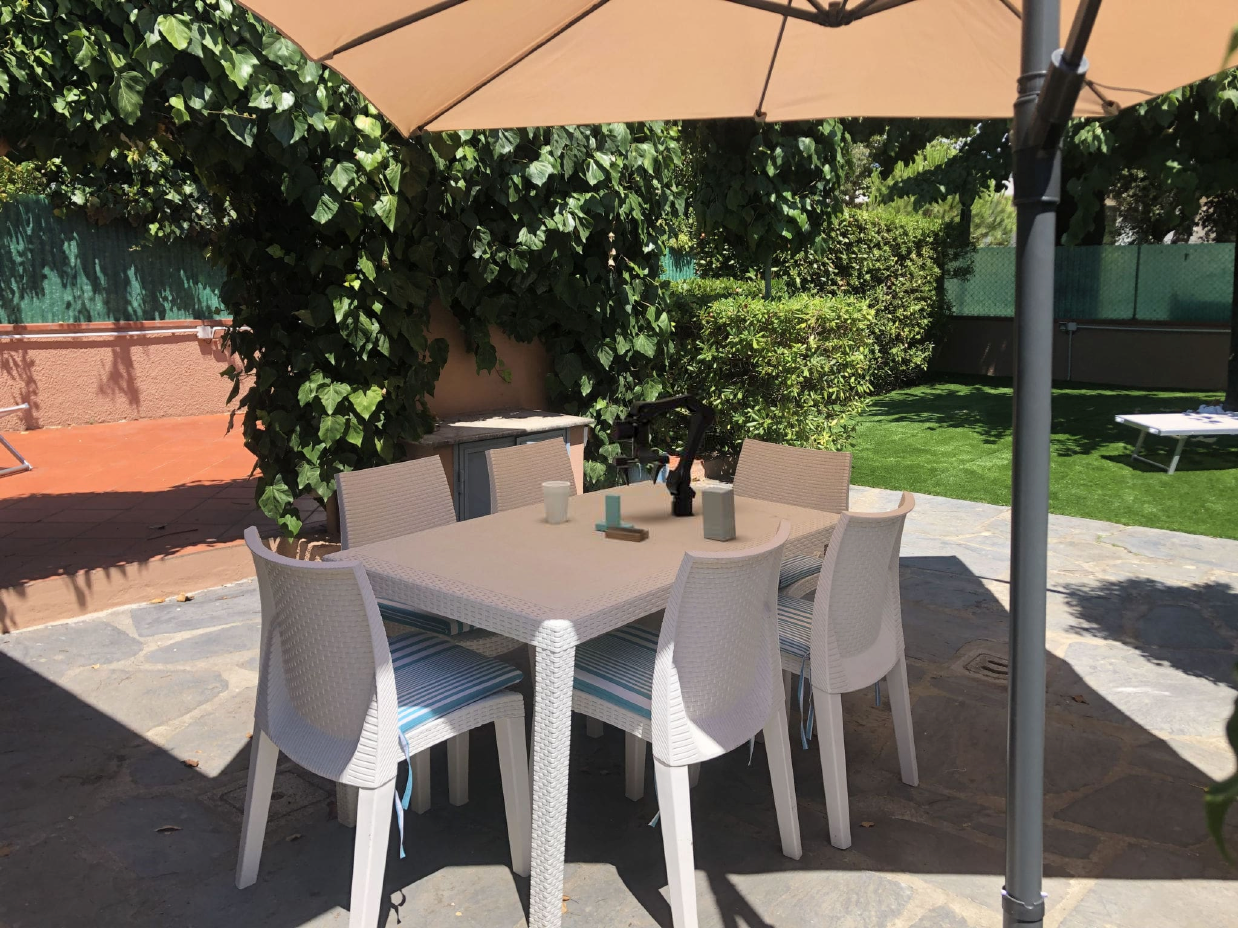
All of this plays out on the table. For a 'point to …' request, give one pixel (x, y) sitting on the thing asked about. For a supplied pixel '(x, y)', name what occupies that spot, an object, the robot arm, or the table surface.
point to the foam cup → (556, 500)
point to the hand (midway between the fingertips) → (641, 485)
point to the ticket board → (626, 533)
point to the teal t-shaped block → (612, 513)
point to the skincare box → (718, 513)
